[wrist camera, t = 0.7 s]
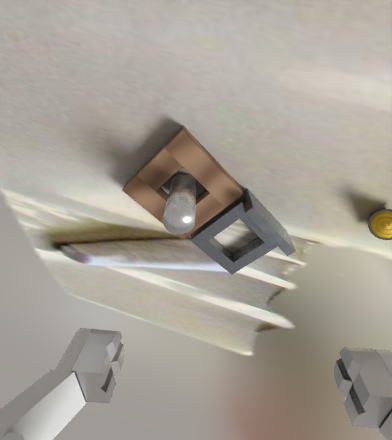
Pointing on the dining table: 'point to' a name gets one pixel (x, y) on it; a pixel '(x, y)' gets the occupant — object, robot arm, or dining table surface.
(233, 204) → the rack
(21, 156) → the dining table surface
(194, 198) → the steel cylinder
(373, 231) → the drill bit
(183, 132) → the socket block
